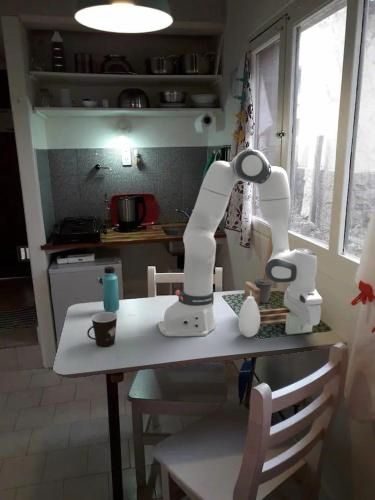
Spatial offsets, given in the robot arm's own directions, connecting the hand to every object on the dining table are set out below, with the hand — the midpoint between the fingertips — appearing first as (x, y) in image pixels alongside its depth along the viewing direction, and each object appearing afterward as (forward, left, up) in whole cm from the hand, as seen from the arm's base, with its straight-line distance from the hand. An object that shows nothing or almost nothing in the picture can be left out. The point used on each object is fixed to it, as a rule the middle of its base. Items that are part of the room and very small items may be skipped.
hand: (298, 326), depth 144 cm
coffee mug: (-73, +7, -2) cm, 73 cm away
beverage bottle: (-68, +34, -2) cm, 76 cm away
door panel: (0, 0, -2) cm, 2 cm away
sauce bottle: (-20, +1, -2) cm, 20 cm away
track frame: (-4, +13, -2) cm, 14 cm away
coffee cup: (0, +32, -2) cm, 32 cm away
